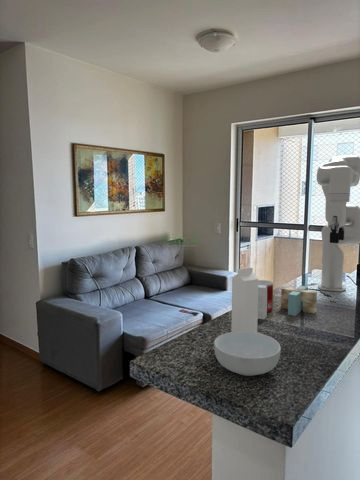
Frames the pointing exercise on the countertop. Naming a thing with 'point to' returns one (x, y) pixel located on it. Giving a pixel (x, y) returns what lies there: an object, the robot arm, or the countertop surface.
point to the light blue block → (295, 301)
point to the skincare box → (262, 301)
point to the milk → (244, 301)
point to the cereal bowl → (247, 352)
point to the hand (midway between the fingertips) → (336, 241)
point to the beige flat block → (306, 297)
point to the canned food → (268, 293)
